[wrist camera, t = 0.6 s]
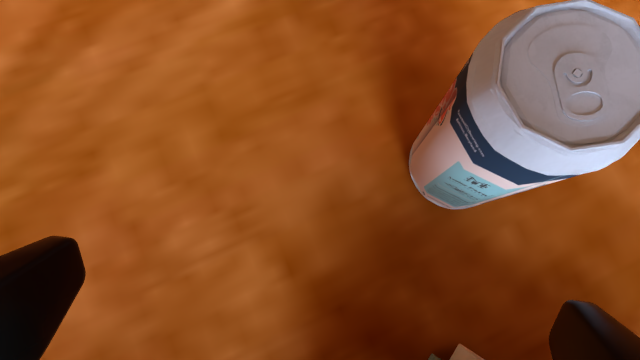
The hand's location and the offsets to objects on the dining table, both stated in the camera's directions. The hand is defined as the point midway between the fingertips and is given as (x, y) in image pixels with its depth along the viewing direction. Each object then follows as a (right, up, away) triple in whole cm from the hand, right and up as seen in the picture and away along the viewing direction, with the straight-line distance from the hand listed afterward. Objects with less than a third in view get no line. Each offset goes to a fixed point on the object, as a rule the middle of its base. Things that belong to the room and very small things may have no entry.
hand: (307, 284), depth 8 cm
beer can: (+7, +3, +14) cm, 16 cm away
